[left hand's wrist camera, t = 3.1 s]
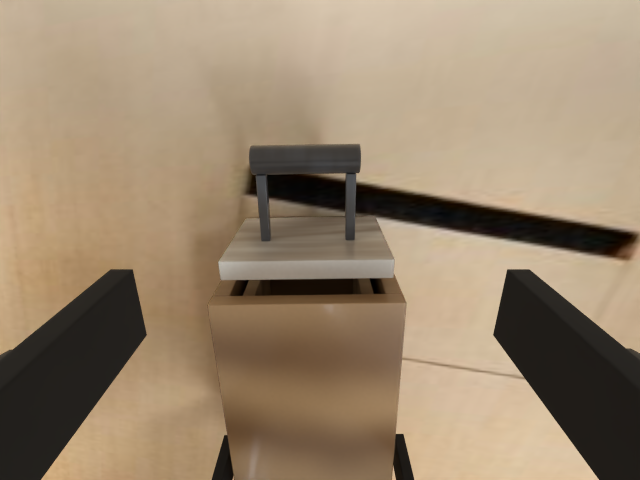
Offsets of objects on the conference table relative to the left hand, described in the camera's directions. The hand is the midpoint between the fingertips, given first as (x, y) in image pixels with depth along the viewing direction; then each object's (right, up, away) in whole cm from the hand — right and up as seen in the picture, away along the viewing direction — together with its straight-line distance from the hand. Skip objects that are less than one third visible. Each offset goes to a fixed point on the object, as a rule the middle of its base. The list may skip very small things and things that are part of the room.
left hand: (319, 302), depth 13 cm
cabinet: (0, -7, +20) cm, 21 cm away
